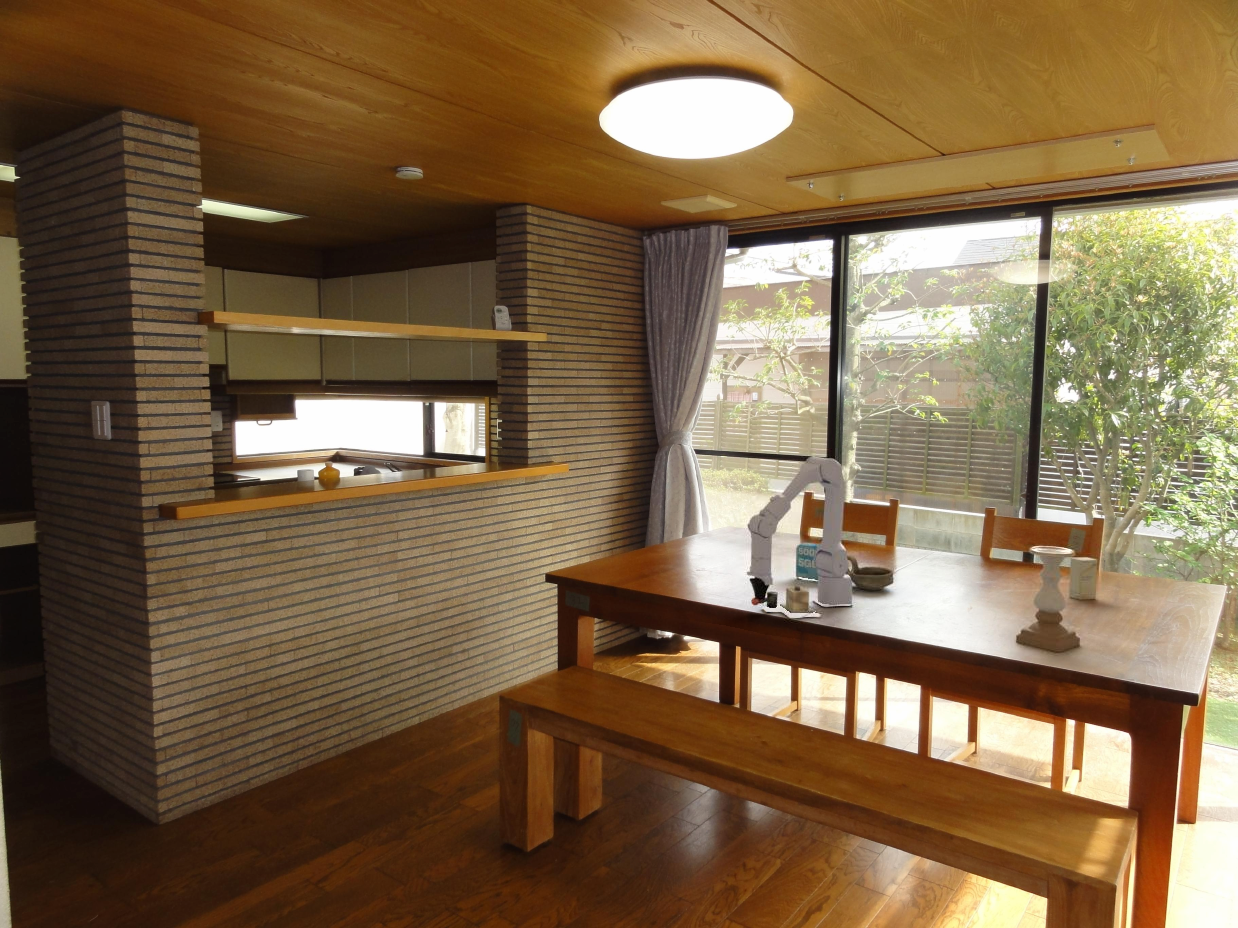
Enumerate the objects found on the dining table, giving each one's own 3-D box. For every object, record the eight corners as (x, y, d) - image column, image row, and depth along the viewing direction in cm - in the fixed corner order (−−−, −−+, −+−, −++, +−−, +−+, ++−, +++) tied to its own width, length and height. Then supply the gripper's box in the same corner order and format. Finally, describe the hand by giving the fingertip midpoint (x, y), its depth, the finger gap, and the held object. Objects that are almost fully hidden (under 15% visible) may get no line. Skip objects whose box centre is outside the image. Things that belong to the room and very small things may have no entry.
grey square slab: (804, 606, 243) (804, 601, 243) (820, 617, 231) (820, 611, 231) (761, 608, 241) (761, 603, 240) (775, 619, 229) (775, 614, 229)
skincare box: (1079, 600, 249) (1081, 560, 248) (1067, 596, 254) (1069, 557, 253) (1096, 598, 251) (1098, 559, 250) (1084, 595, 255) (1086, 556, 254)
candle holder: (1058, 653, 200) (1063, 555, 198) (1014, 642, 209) (1018, 548, 206) (1080, 644, 206) (1085, 550, 204) (1037, 634, 215) (1041, 543, 213)
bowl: (882, 596, 254) (882, 564, 253) (831, 587, 266) (831, 556, 266) (902, 588, 264) (903, 558, 263) (852, 580, 276) (853, 550, 275)
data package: (795, 579, 278) (796, 544, 277) (800, 576, 281) (801, 541, 280) (829, 584, 271) (830, 547, 270) (834, 581, 274) (835, 545, 273)
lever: (772, 604, 240) (773, 591, 240) (779, 606, 237) (779, 593, 237) (748, 608, 236) (748, 594, 236) (755, 610, 233) (755, 596, 233)
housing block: (801, 603, 239) (801, 584, 239) (808, 609, 234) (809, 588, 233) (785, 604, 239) (786, 584, 238) (793, 609, 233) (793, 589, 233)
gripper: (740, 551, 242) (739, 597, 243) (755, 563, 228) (754, 611, 229) (763, 551, 243) (762, 596, 245) (780, 562, 229) (779, 610, 230)
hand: (760, 603), depth 237 cm, fingers closed, pressing on lever
